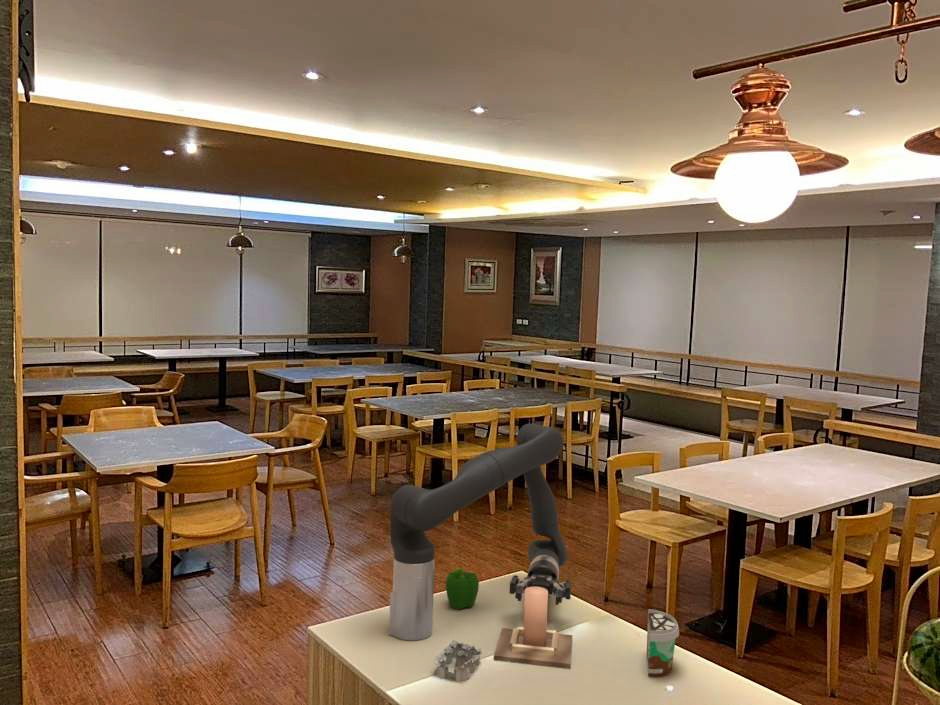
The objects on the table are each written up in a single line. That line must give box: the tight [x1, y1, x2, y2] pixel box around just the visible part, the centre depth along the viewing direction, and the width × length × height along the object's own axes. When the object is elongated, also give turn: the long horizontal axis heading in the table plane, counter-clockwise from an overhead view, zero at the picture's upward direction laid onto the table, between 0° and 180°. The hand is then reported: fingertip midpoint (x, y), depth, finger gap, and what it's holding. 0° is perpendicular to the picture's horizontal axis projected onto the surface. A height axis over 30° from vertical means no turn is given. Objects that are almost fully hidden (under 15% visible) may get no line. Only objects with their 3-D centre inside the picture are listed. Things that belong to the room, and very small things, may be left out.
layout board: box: [493, 626, 573, 670], centre depth 159 cm, size 16×14×2 cm
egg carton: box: [434, 639, 483, 683], centre depth 149 cm, size 11×8×4 cm
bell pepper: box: [445, 566, 480, 610], centre depth 182 cm, size 8×8×10 cm
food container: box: [646, 608, 680, 678], centre depth 152 cm, size 12×6×10 cm, turn 168°
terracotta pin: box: [523, 587, 549, 647], centre depth 159 cm, size 5×5×12 cm
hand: (538, 598), depth 165 cm, fingers open, 8 cm apart
